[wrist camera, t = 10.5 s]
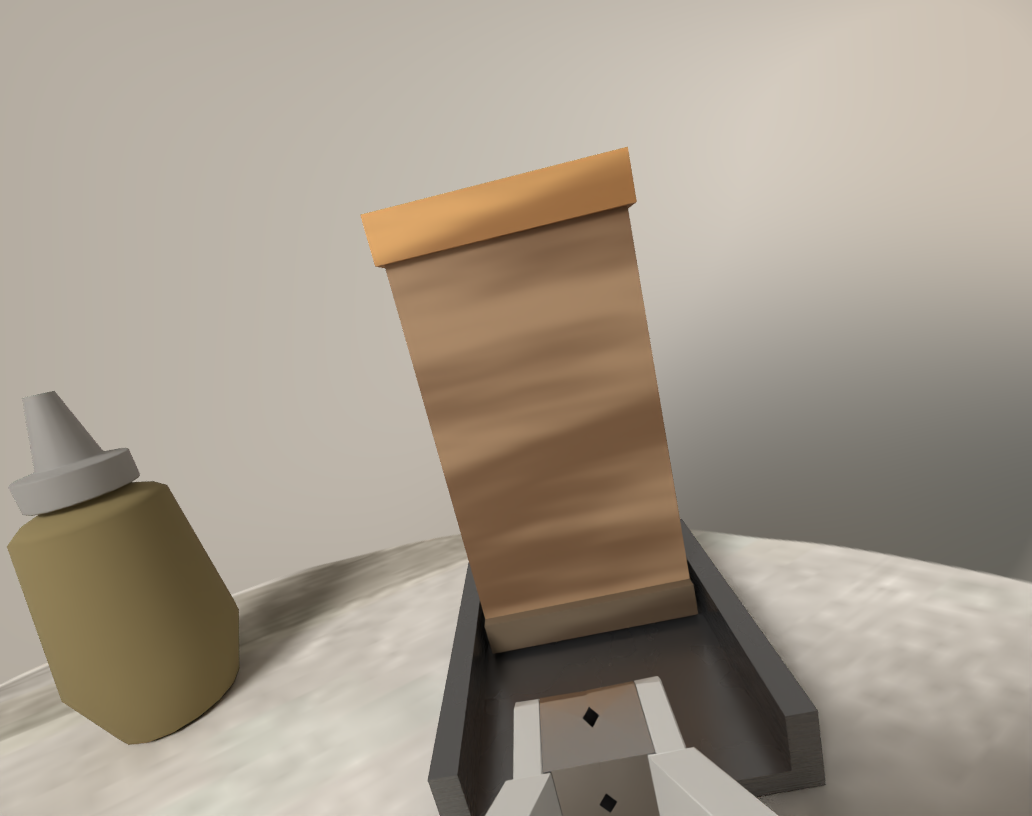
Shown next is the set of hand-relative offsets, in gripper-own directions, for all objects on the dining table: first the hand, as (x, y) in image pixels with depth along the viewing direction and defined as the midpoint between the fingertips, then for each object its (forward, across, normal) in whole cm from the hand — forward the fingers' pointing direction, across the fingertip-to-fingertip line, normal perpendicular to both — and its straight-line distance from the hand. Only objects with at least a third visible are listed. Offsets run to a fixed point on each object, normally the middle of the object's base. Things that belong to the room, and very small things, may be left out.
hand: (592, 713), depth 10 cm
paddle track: (+11, 0, +9) cm, 14 cm away
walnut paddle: (+14, 0, +8) cm, 16 cm away
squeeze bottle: (+14, +23, +9) cm, 29 cm away
